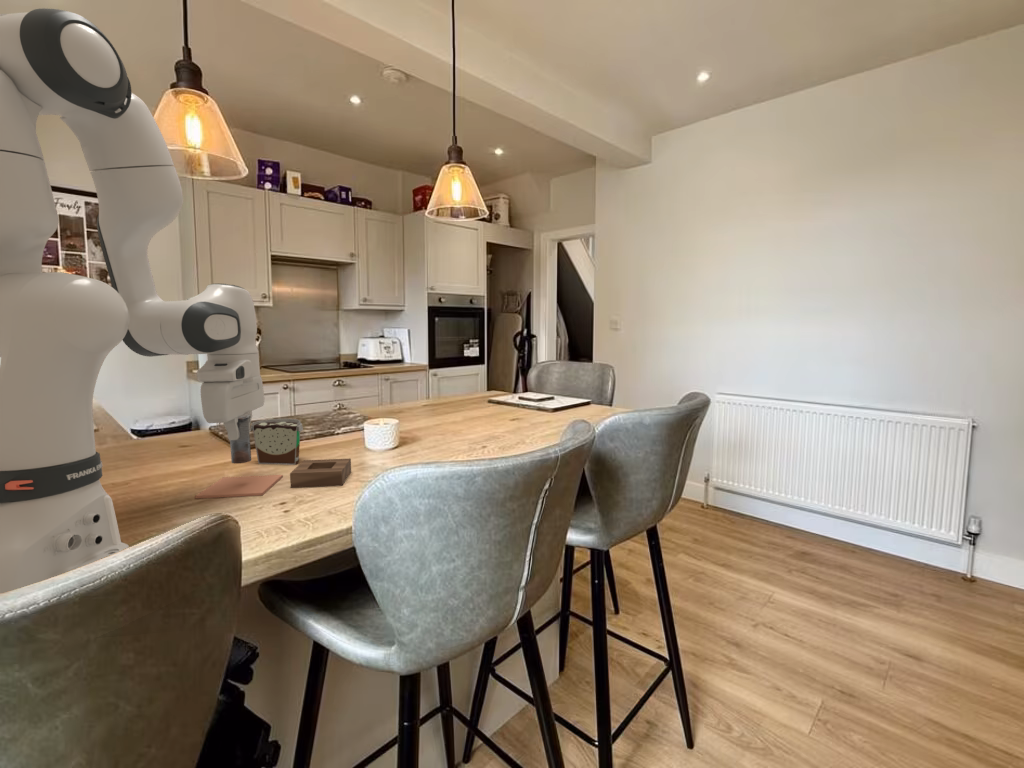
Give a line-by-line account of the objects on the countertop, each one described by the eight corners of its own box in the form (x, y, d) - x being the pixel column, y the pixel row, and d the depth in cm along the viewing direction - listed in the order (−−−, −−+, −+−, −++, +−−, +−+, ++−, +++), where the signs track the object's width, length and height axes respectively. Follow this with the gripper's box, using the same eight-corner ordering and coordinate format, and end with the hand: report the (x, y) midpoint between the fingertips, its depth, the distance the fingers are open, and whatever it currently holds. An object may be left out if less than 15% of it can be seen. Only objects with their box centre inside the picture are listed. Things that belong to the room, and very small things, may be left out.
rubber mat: (262, 495, 94) (262, 492, 94) (195, 498, 92) (195, 496, 92) (282, 476, 105) (282, 474, 105) (223, 479, 104) (223, 477, 104)
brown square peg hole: (342, 485, 99) (341, 471, 99) (290, 487, 98) (289, 473, 98) (351, 471, 109) (350, 458, 109) (304, 473, 108) (304, 460, 108)
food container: (314, 458, 121) (312, 418, 120) (301, 464, 115) (299, 423, 114) (267, 457, 122) (265, 418, 121) (252, 463, 116) (249, 422, 115)
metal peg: (248, 463, 97) (245, 414, 95) (225, 464, 96) (221, 414, 95) (257, 457, 101) (253, 410, 100) (234, 458, 100) (230, 411, 99)
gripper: (239, 364, 106) (243, 426, 108) (191, 373, 86) (198, 449, 87) (269, 363, 107) (274, 425, 108) (229, 372, 87) (235, 448, 88)
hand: (239, 436), depth 98 cm, fingers closed on metal peg, 3 cm apart
